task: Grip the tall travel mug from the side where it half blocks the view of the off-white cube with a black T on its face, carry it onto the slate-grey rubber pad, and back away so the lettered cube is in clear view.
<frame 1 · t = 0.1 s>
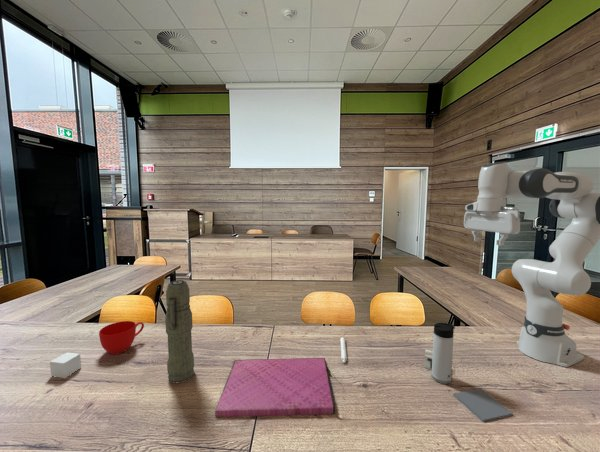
hand: (488, 243, 100), 48 cm above the table, tool pointing down, fingers open, 8 cm apart
ceramic cup: (124, 348, 116), on the table
slate pad: (481, 404, 84), on the table
travel mug: (441, 378, 96), on the table
marker: (343, 352, 113), on the table
lettered cube: (431, 366, 103), on the table
laptop bag: (283, 386, 93), on the table
adhesive note: (66, 373, 99), on the table
thermos: (181, 375, 98), on the table
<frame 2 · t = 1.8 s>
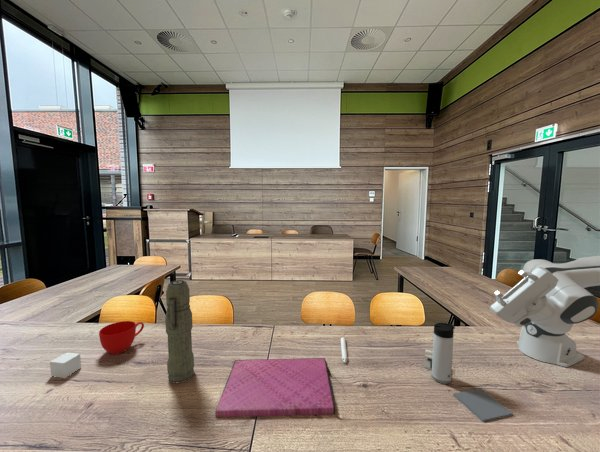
hand: (508, 282, 83), 38 cm above the table, tool pointing upward, fingers open, 8 cm apart
nothing on the table moved.
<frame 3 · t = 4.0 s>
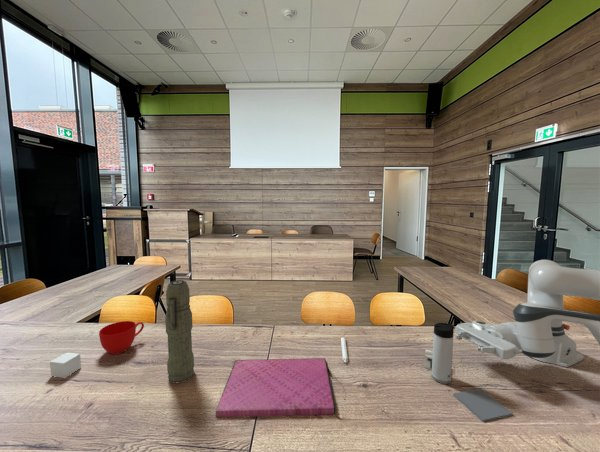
hand: (467, 343, 98), 12 cm above the table, tool horizontal, fingers open, 8 cm apart
nothing on the table moved.
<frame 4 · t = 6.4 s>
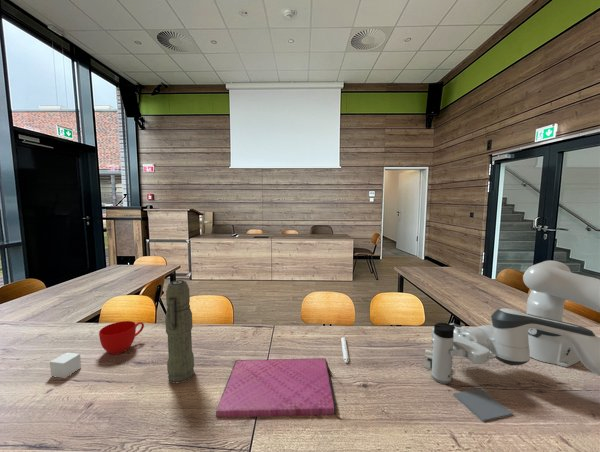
hand: (441, 346, 95), 12 cm above the table, tool horizontal, fingers closed on travel mug, 6 cm apart
travel mug: (441, 378, 96), on the table, touching gripper
everything else where it was.
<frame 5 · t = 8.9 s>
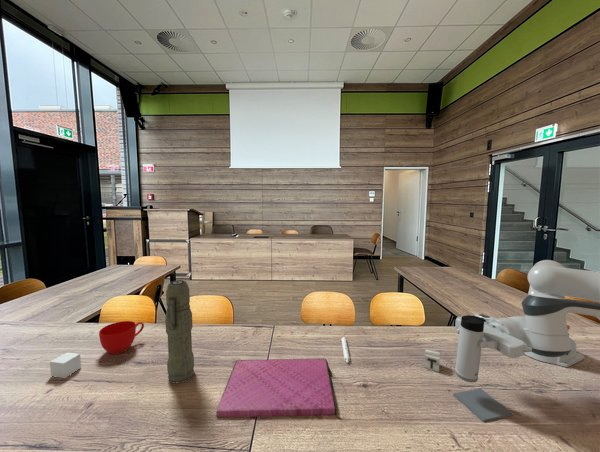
hand: (468, 338, 85), 20 cm above the table, tool horizontal, fingers closed on travel mug, 6 cm apart
travel mug: (466, 377, 86), point 7 cm above the table, touching gripper
everything else where it was.
when the fingers open (14 cm above the table, at t = 11.2 s): travel mug stays where it is, resting on slate pad.
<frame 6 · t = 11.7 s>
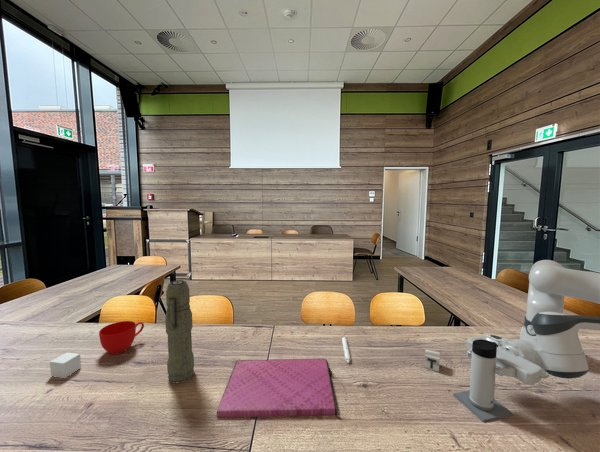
hand: (482, 362, 82), 14 cm above the table, tool horizontal, fingers open, 8 cm apart
travel mug: (481, 404, 83), resting on slate pad
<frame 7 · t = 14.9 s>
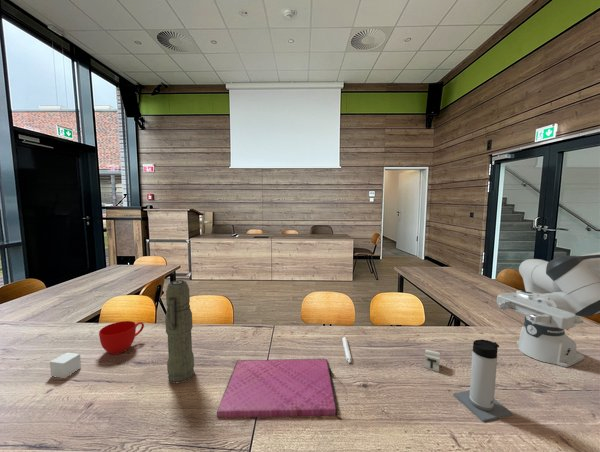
hand: (516, 312, 84), 29 cm above the table, tool horizontal, fingers open, 8 cm apart
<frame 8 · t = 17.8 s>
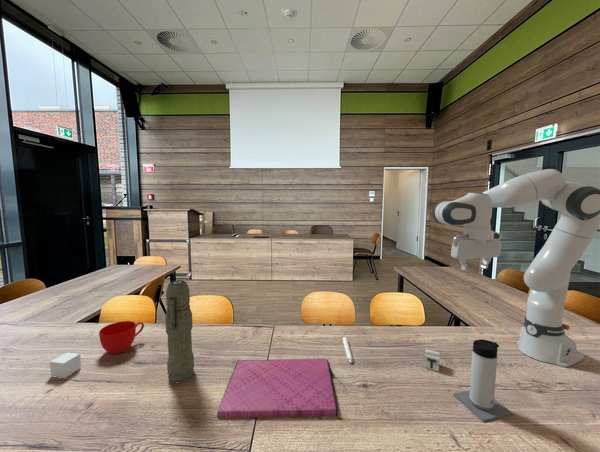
hand: (474, 269, 105), 37 cm above the table, tool pointing down, fingers open, 8 cm apart
at the end: travel mug inside the target area on the slate pad (0.5 cm from its centre), point 0.4 cm above the slate pad's base; travel mug tilted 0°; lettered cube moved 0.1 cm from its start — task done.
